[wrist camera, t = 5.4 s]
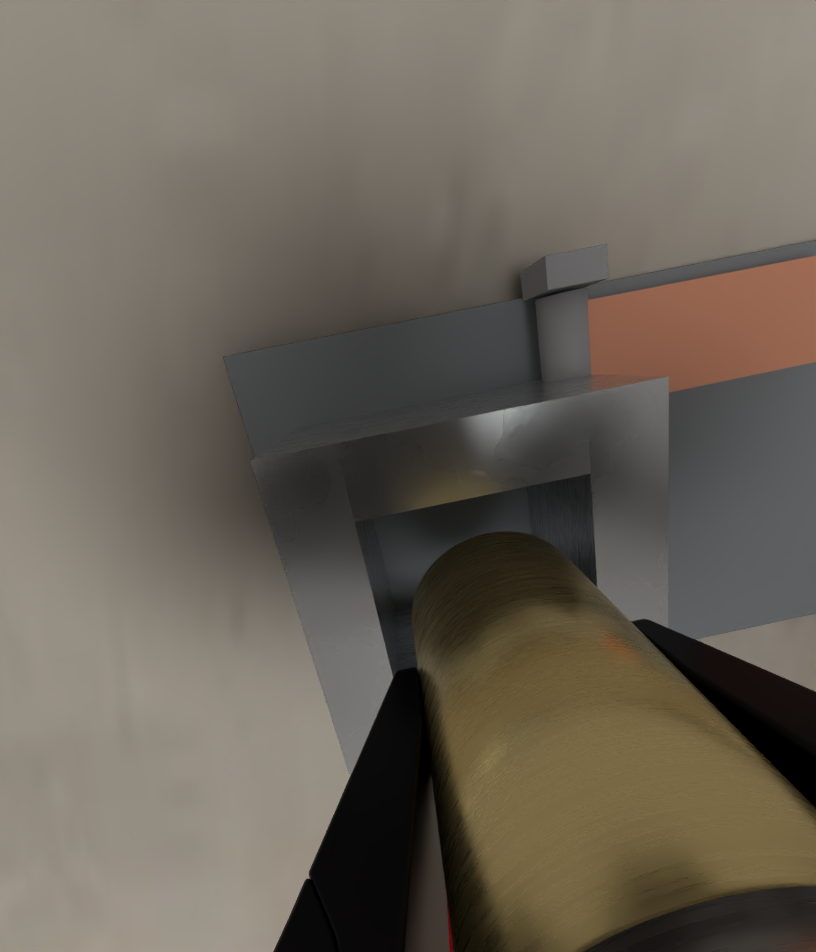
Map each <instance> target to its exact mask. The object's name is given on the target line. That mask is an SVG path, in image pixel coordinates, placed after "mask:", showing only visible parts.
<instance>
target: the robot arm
mask: <svg viewBox="0 0 816 952" xmlns="http://www.w3.org/2000/svg"><path fill="white" fill-rule="evenodd" d="M631 622H632V623H633V624H634V625H635V626H636V627H637V628H638V629H639V630H640V631H641V632H642V633H643V634H644V635H645V636H646V637H647V638H648V639H649V640H650V641H651V642H652V643H653V644H654V645H655V646H656V647H657V648H658V649H659V650H660V651H661V652H662V653H663V654H664V655H665V656H666V658H667V659H668V660H669V661H670V662H671V663H672V664H673V665H674V666H675V667H676V668H677V669H678V670H679V671H680V672H681V673H682V674H683V675H684V676H685V677H686V678H687V679H688V680H689V681H690V682H691V683H692V684H693V685H694V686H695V687H696V688H697V689H698V690H699V691H700V692H701V693H702V694H703V695H704V696H705V697H706V698H707V699H708V700H709V701H710V702H711V703H712V704H713V705H714V706H715V707H716V708H717V709H718V710H719V711H720V712H721V713H722V714H723V715H724V716H725V717H726V718H727V719H728V720H729V721H730V722H731V723H732V724H733V725H734V726H735V727H736V728H737V729H738V730H739V731H740V732H741V733H742V734H743V735H744V736H745V737H746V738H747V739H748V740H749V741H750V742H751V743H752V744H753V745H754V746H755V747H756V748H757V749H758V750H759V751H760V752H761V753H762V754H763V755H764V756H765V757H766V758H767V759H768V760H769V761H770V762H771V764H772V765H773V766H774V767H775V768H776V769H777V770H778V771H779V772H780V773H781V774H782V775H783V776H784V777H785V778H786V779H787V780H788V781H789V782H790V783H791V784H792V785H793V786H794V787H795V788H796V789H797V790H798V791H799V792H800V793H801V794H802V795H803V796H804V797H805V798H806V799H807V800H808V801H809V802H810V803H811V804H812V805H813V806H814V807H815V808H816V692H815V691H813V690H810V689H808V688H806V687H803V686H801V685H799V684H797V683H794V682H792V681H790V680H787V679H785V678H783V677H780V676H778V675H776V674H773V673H771V672H769V671H767V670H764V669H762V668H760V667H757V666H755V665H753V664H750V663H748V662H746V661H743V660H741V659H739V658H736V657H734V656H732V655H730V654H727V653H725V652H723V651H720V650H718V649H716V648H713V647H711V646H709V645H706V644H704V643H702V642H700V641H697V640H695V639H693V638H690V637H688V636H686V635H683V634H681V633H679V632H676V631H674V630H672V629H669V628H667V627H665V626H663V625H660V624H658V623H656V622H653V621H651V620H648V619H639V620H634V621H631ZM309 877H310V879H311V880H310V879H306V880H305V882H304V884H303V886H302V889H301V891H300V893H299V896H298V898H297V900H296V903H295V905H294V907H293V910H292V912H291V914H290V917H289V919H288V921H287V923H286V925H285V927H284V930H283V932H282V934H281V936H280V938H279V941H278V943H277V945H276V947H275V949H274V951H273V952H450V949H449V931H448V913H447V896H446V888H445V880H444V872H443V864H442V856H441V848H440V840H439V832H438V824H437V817H436V809H435V801H434V793H433V785H432V777H431V769H430V761H429V753H428V745H427V737H426V728H425V720H424V712H423V704H422V696H421V688H420V680H419V672H418V669H417V668H416V667H410V668H406V669H401V670H398V671H396V672H395V674H394V676H393V679H392V681H391V683H390V686H389V688H388V690H387V693H386V695H385V697H384V699H383V702H382V704H381V706H380V709H379V711H378V713H377V716H376V718H375V720H374V723H373V725H372V727H371V730H370V732H369V734H368V737H367V739H366V741H365V743H364V746H363V748H362V750H361V753H360V755H359V757H358V760H357V762H356V764H355V767H354V769H353V771H352V774H351V776H350V778H349V780H348V783H347V785H346V787H345V790H344V792H343V794H342V797H341V799H340V801H339V804H338V806H337V808H336V811H335V813H334V815H333V817H332V820H331V822H330V824H329V827H328V829H327V831H326V834H325V836H324V838H323V841H322V843H321V845H320V848H319V850H318V852H317V855H316V857H315V859H314V861H313V864H312V866H311V868H310V871H309Z"/></svg>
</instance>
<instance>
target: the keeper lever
mask: <svg viewBox="0 0 816 952" xmlns="http://www.w3.org/2000/svg"><path fill="white" fill-rule="evenodd" d="M535 306H536V317H537V328H538V340H539V351H540V362H541V374H542V381H544V382H549V381H560V380H567V379H573V378H579V377H583V376H587V375H590V374H606V375H637V376H668V377H669V392H674V391H678V390H683V389H688V388H693V387H698V386H703V385H707V384H712V383H717V382H722V381H727V380H731V379H736V378H741V377H746V376H751V375H756V374H760V373H765V372H770V371H775V370H780V369H784V368H789V367H794V366H799V365H804V364H808V363H813V362H816V256H811V257H806V258H801V259H796V260H791V261H785V262H780V263H775V264H770V265H765V266H760V267H755V268H750V269H744V270H739V271H734V272H729V273H724V274H719V275H714V276H709V277H704V278H698V279H693V280H688V281H683V282H678V283H673V284H668V285H663V286H657V287H652V288H647V289H642V290H637V291H632V292H627V293H622V294H616V295H611V296H606V297H601V298H596V299H591V300H589V299H588V288H585V289H578V290H572V291H568V292H563V293H559V294H555V295H551V296H547V297H544V298H541V299H538V300H536V301H535Z"/></svg>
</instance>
